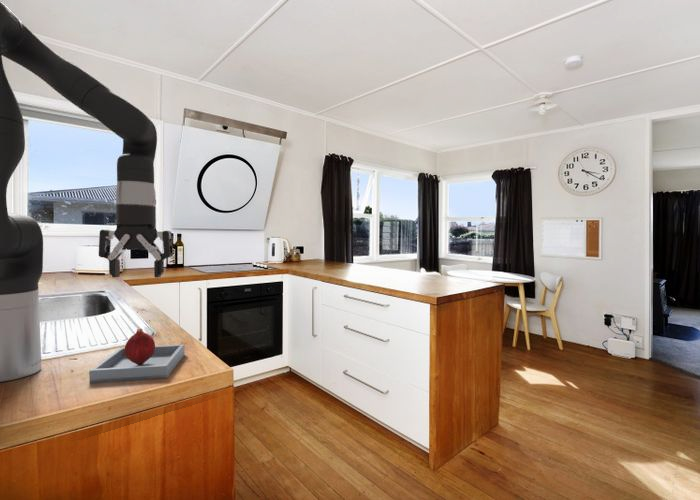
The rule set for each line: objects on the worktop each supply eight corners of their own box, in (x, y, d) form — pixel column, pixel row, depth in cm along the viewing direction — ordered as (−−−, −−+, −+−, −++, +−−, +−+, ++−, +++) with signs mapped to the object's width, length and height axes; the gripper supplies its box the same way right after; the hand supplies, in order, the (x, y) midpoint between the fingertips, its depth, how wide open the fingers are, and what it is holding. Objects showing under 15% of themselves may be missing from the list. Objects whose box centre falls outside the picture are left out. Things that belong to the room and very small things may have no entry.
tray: (89, 383, 71) (89, 370, 70) (120, 358, 84) (120, 347, 84) (166, 377, 73) (166, 365, 73) (184, 354, 87) (184, 344, 87)
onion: (160, 364, 79) (159, 328, 79) (130, 372, 75) (129, 334, 74) (149, 358, 83) (148, 323, 82) (121, 365, 78) (120, 328, 78)
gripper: (91, 201, 74) (92, 279, 75) (165, 203, 77) (166, 279, 78) (108, 204, 82) (109, 275, 83) (175, 205, 84) (176, 275, 85)
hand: (137, 277), depth 80 cm, fingers open, 8 cm apart
